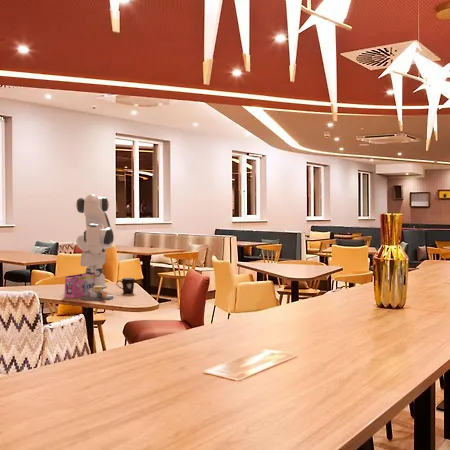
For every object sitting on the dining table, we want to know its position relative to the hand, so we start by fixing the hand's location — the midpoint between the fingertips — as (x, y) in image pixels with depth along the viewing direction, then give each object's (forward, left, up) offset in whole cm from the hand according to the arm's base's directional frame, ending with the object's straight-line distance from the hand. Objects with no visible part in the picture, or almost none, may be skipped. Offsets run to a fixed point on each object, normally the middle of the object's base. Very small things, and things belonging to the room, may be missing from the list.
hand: (93, 272), depth 347 cm
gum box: (-27, 0, -18) cm, 33 cm away
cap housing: (-11, +7, -18) cm, 22 cm away
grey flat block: (-7, +7, -17) cm, 19 cm away
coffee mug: (-24, +31, -18) cm, 43 cm away
